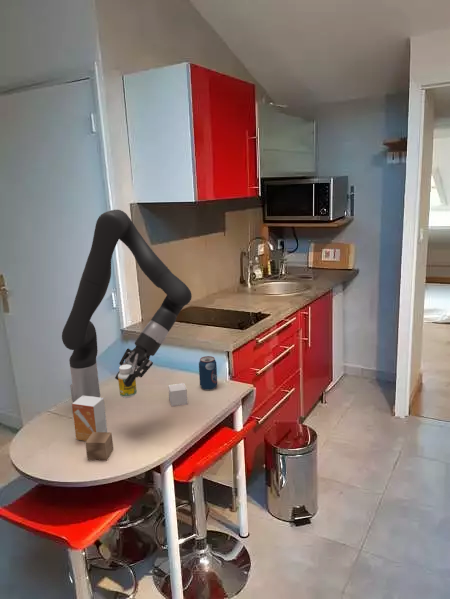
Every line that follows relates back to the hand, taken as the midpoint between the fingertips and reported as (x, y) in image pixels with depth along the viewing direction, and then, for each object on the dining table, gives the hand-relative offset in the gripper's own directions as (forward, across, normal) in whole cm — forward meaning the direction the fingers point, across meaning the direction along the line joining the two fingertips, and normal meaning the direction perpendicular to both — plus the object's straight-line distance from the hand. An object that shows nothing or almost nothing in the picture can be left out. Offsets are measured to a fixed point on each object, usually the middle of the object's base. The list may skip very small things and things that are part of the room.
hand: (121, 382), depth 151 cm
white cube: (-5, -10, +32) cm, 34 cm away
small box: (+20, -8, +7) cm, 22 cm away
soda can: (-16, -12, +44) cm, 48 cm away
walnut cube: (+21, +4, +6) cm, 22 cm away
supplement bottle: (+2, 0, +5) cm, 5 cm away
